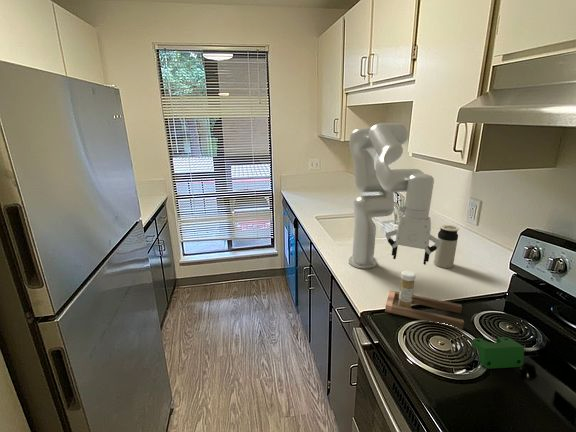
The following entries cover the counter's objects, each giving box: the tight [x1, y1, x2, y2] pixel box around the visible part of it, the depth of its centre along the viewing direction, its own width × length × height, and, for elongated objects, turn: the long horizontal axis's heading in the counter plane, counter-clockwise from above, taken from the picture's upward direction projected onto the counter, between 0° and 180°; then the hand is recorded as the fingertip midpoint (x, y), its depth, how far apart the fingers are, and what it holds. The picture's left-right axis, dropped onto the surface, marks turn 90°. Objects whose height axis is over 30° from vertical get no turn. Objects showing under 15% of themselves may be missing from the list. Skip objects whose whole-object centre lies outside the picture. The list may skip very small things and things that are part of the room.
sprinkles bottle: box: [397, 270, 417, 309], centre depth 113 cm, size 5×5×14 cm
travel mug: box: [433, 224, 460, 269], centre depth 145 cm, size 8×8×18 cm
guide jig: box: [384, 290, 465, 330], centre depth 113 cm, size 11×24×2 cm, turn 66°
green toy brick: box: [472, 336, 525, 370], centre depth 90 cm, size 12×6×9 cm, turn 89°
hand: (409, 260), depth 110 cm, fingers open, 9 cm apart
